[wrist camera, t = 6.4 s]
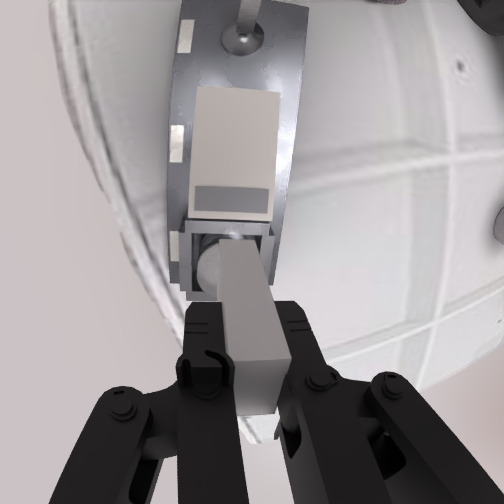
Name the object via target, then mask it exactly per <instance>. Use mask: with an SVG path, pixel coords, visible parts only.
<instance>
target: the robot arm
mask: <svg viewBox="0 0 504 504" xmlns="http://www.w3.org/2000/svg"><path fill="white" fill-rule="evenodd" d="M458 1H459V2H460V4H461V5H462V6H463V8H464V9H465V10H466V12H467V13H468V14H469V15H470V17H471V18H472V19H473V20H474V21H475V22H476V23H477V24H478V25H479V26H480V27H481V28H482V29H484V30H485V31H486V32H488V33H489V34H491V35H494V36H498V37H504V0H458ZM176 374H177V381H176V382H175V383H174V384H173V385H171V386H170V387H168V388H166V389H163V390H160V391H156V392H152V393H147V394H142V392H140V391H139V390H136V389H135V388H133V387H126V386H119V387H113V388H111V389H109V390H108V391H106V392H104V393H103V394H102V396H101V397H100V398H99V399H98V401H97V403H96V405H95V407H94V409H93V411H92V413H91V415H90V416H89V418H88V420H87V422H86V424H85V426H84V428H83V430H82V432H81V434H80V436H79V438H78V440H77V442H76V444H75V446H74V448H73V450H72V452H71V455H70V457H69V459H68V461H67V463H66V465H65V467H64V470H63V472H62V474H61V476H60V478H59V480H58V483H57V485H56V487H55V490H54V492H53V494H52V497H51V499H50V502H49V504H150V502H151V499H152V495H153V492H154V489H155V486H156V483H157V479H158V476H159V473H160V470H161V467H162V463H163V460H164V458H168V457H172V456H176V455H177V476H178V478H177V479H178V504H249V498H248V493H247V486H246V480H245V472H244V465H243V458H242V451H241V445H240V436H239V429H238V421H237V416H252V415H266V414H275V411H276V408H277V406H278V411H279V415H280V420H279V422H278V425H277V428H276V430H275V433H274V440H277V439H278V437H279V436H280V441H281V445H282V450H283V455H284V459H285V464H286V468H287V473H288V477H289V482H290V486H291V491H292V494H293V499H294V504H504V494H503V493H502V491H501V490H500V489H499V488H498V486H497V485H496V484H495V483H494V481H493V480H492V479H491V478H490V476H489V475H488V474H487V473H486V472H485V470H484V469H483V468H482V466H481V465H480V464H479V463H478V462H477V460H476V459H475V458H474V457H473V456H472V454H471V453H470V452H469V451H468V450H467V449H466V447H465V446H464V445H463V444H462V442H461V441H460V440H459V439H458V438H457V436H456V435H455V434H454V433H453V432H452V431H451V430H450V429H449V427H448V426H447V425H446V424H445V422H444V421H443V420H442V419H441V418H440V417H439V416H438V414H437V413H436V412H435V411H434V410H433V409H432V407H431V406H430V405H429V404H428V403H427V402H426V401H425V399H424V398H423V397H422V396H421V395H420V394H419V393H418V392H417V390H416V389H415V388H414V387H413V386H412V385H411V384H410V383H409V381H408V380H406V379H405V378H404V377H403V376H402V375H399V374H397V373H395V372H387V371H386V372H382V373H379V374H377V375H376V376H375V377H374V378H373V379H372V381H371V382H366V381H357V380H350V379H346V378H343V377H341V375H340V374H339V373H338V371H337V370H335V369H334V368H332V367H331V366H329V365H327V364H326V362H325V360H324V358H323V355H322V353H321V350H320V348H319V346H318V343H317V341H316V338H315V336H314V334H313V331H311V326H310V324H309V322H308V319H307V317H306V314H305V312H304V310H303V309H302V308H301V307H300V306H299V305H298V304H297V303H296V302H295V301H274V300H273V297H272V294H271V290H270V287H269V284H268V281H267V278H266V274H265V271H264V268H263V265H262V262H261V259H260V255H259V252H258V249H257V246H256V243H255V240H240V239H219V255H218V279H217V302H192V303H191V304H190V306H189V307H188V309H187V310H186V313H185V326H184V340H183V354H182V355H181V356H180V357H179V358H178V360H177V363H176Z"/></svg>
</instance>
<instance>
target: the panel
mask: <svg viewBox="0 0 504 504" xmlns="http://www.w3.org/2000/svg"><path fill="white" fill-rule="evenodd" d="M240 2H241V0H182V6H181V12H180V18H179V25H178V32H177V40H176V48H175V56H174V65H173V75H172V86H171V99H170V113H169V132H168V159H167V227H168V255H169V274H170V283H178V284H180V291H186V301H217V298H215V297H212V296H210V295H208V294H207V293H205V292H204V291H203V290H202V288H201V287H200V285H199V283H198V280H197V267H198V254H199V246H200V243H201V241H202V239H203V238H204V236H205V235H206V234H208V233H209V234H238V235H243V236H244V237H245V238H246V240H255V243H256V246H257V249H258V252H259V255H260V259H261V262H262V265H263V268H264V271H265V274H266V278H267V281H268V284H269V285H273V282H274V276H275V270H276V263H277V257H278V251H279V244H280V238H281V231H282V225H283V218H284V211H285V204H286V197H287V190H288V183H289V176H290V169H291V161H292V154H293V146H294V139H295V131H296V123H297V115H298V106H299V98H300V90H301V81H302V72H303V63H304V53H305V43H306V33H307V23H308V12H309V7H304V6H299V5H294V4H289V3H284V2H278V1H271V0H261V4H260V8H259V11H258V15H257V19H256V23H255V27H254V31H253V34H245V33H236V24H237V18H238V12H239V7H240ZM197 86H215V87H232V88H245V89H255V90H264V91H273V92H280V108H279V126H278V143H277V159H276V175H275V190H274V204H273V218H272V221H258V220H235V219H209V218H188V204H189V182H190V165H191V150H192V136H193V124H194V113H195V103H196V94H197Z"/></svg>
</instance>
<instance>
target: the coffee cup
mask: <svg viewBox="0 0 504 504" xmlns="http://www.w3.org/2000/svg"><path fill="white" fill-rule="evenodd" d="M494 235H495V237H496V238H497V239H498V240H499V241H500V242H501V243H502V244H503V245H504V207H503V208H502V209H501V211H500V212H499V214H498V216H497V218H496V221H495V225H494Z"/></svg>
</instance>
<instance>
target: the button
mask: <svg viewBox="0 0 504 504" xmlns="http://www.w3.org/2000/svg"><path fill="white" fill-rule="evenodd" d="M219 239H240V240H246V238H245V237H244V236H243V235H238V234H209V233H208V234H206V235H205V236H204V238H203V239H202V241H201V243H200V246H199V254H198V267H197V280H198V283H199V285H200V287H201V288H202V290H203V291H204V292H205V293H207V294H208V295H210V296H212V297H215V298H217V279H218V255H219Z"/></svg>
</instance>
